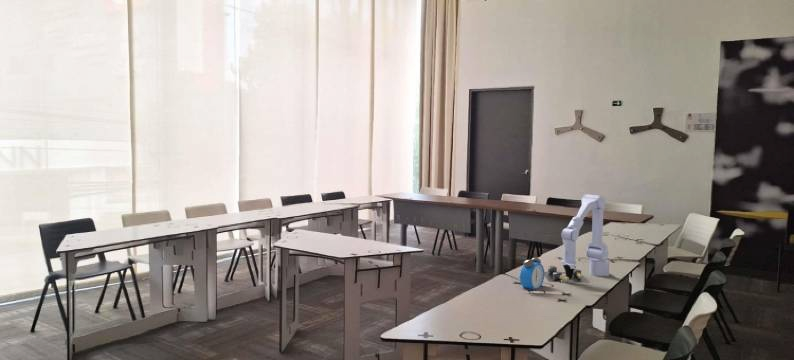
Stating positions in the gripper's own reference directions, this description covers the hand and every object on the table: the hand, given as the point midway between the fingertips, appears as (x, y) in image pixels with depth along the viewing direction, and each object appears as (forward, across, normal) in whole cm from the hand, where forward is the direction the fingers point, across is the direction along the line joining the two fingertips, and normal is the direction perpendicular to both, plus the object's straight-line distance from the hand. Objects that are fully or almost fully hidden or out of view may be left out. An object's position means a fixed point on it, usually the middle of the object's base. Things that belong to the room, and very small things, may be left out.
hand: (569, 279), depth 262 cm
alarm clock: (+2, +10, -20) cm, 22 cm away
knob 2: (+1, -1, -3) cm, 4 cm away
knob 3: (+1, -7, +6) cm, 9 cm away
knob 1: (+1, -19, -4) cm, 19 cm away
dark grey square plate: (+3, -10, 0) cm, 10 cm away
